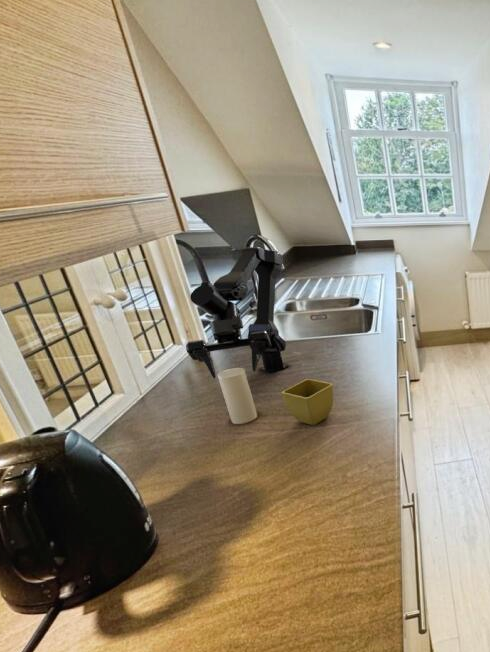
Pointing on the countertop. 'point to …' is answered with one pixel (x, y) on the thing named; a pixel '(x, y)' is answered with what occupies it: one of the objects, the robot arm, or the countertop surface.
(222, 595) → the countertop surface
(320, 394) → the flower pot
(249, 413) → the tall white cylinder
